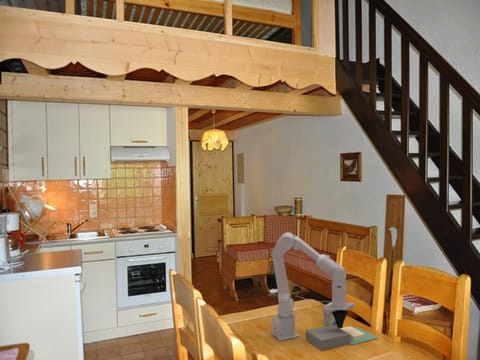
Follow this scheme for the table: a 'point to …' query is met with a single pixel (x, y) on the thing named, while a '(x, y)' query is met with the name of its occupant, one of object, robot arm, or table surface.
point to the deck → (327, 337)
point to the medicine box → (328, 317)
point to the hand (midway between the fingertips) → (339, 327)
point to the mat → (367, 337)
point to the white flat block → (354, 333)
